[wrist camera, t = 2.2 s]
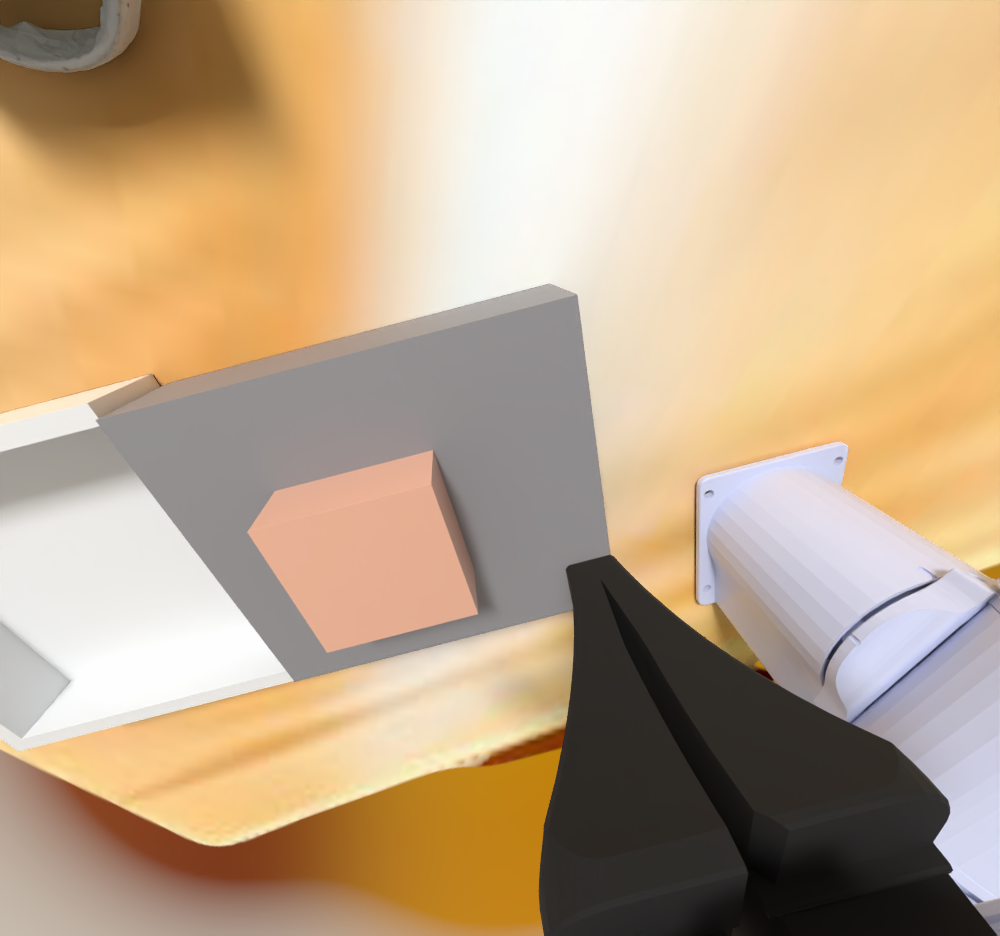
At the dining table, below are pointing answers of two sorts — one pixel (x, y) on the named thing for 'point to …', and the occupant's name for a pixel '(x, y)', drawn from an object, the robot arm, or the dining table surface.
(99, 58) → the ceramic mug
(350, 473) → the terracotta tile
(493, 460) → the board
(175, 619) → the bin
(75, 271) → the dining table surface
